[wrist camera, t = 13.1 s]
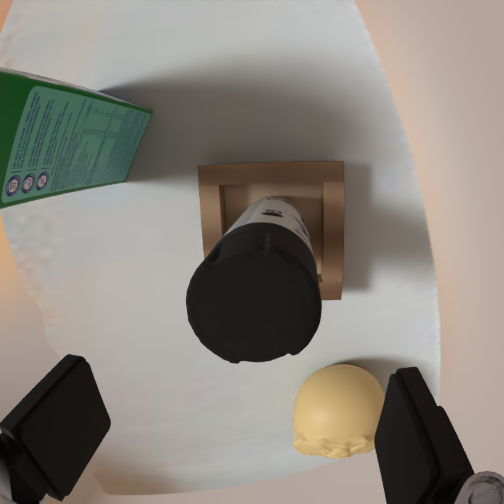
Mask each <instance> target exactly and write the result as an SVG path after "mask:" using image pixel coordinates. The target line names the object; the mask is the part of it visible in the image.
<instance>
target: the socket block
mask: <svg viewBox="0 0 504 504" xmlns="http://www.w3.org/2000/svg"><path fill="white" fill-rule="evenodd" d="M198 181H199V197H200V211H201V225H202V237H203V250H204V260H205V258H206V257H207V256H208V254H209V253H210V252H211V250H212V249H213V248H214V246H215V245H216V244H217V243H218V241H219V240H220V239H221V238H222V237H223V236H224V235H225V233H226V232H227V231H228V230H229V229H230V228H231V227H232V226H233V224H234V223H235V222H236V221H237V220H238V219H239V218H240V216H241V215H242V214H243V213H244V212H245V211H246V210H247V209H248V208H249V207H250V205H252V204H253V203H254V202H255V201H257V200H259V199H261V198H264V197H268V196H279V197H284V198H286V199H288V200H290V201H292V202H293V203H294V204H295V205H296V206H297V207H298V208H299V209H300V210H301V212H302V214H303V216H304V219H305V222H306V226H307V230H308V234H309V238H310V243H311V247H312V250H313V255H314V259H315V262H316V265H317V275H318V281H319V288H320V294H321V300H341V294H342V276H343V250H344V161H294V162H259V163H238V164H220V165H206V166H198Z"/></svg>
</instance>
